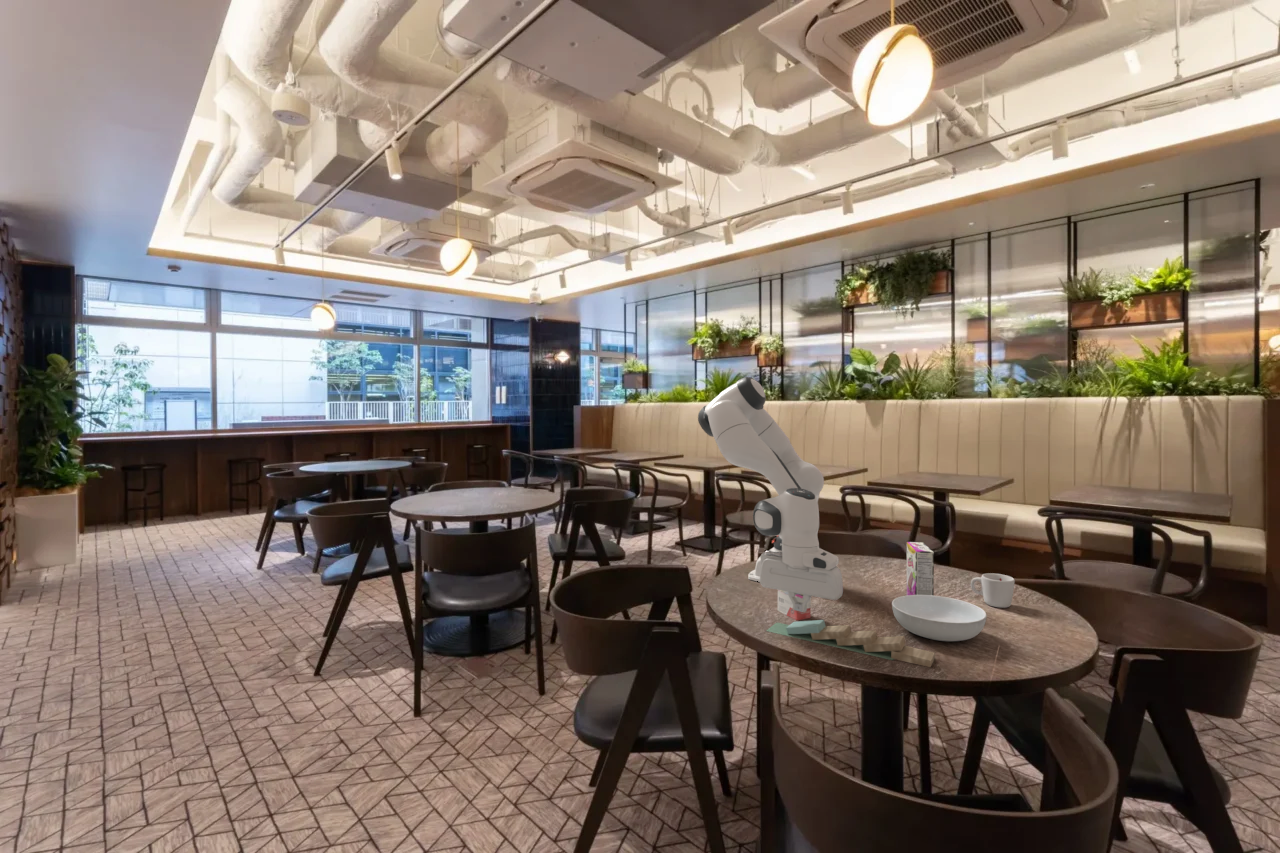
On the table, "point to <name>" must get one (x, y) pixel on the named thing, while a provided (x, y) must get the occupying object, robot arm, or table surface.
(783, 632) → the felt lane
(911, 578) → the candy bar box
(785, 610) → the ink cartridge box
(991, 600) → the cup
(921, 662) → the domino
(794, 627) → the domino
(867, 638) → the domino
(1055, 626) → the table surface
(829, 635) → the domino
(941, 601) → the serving bowl
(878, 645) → the domino
